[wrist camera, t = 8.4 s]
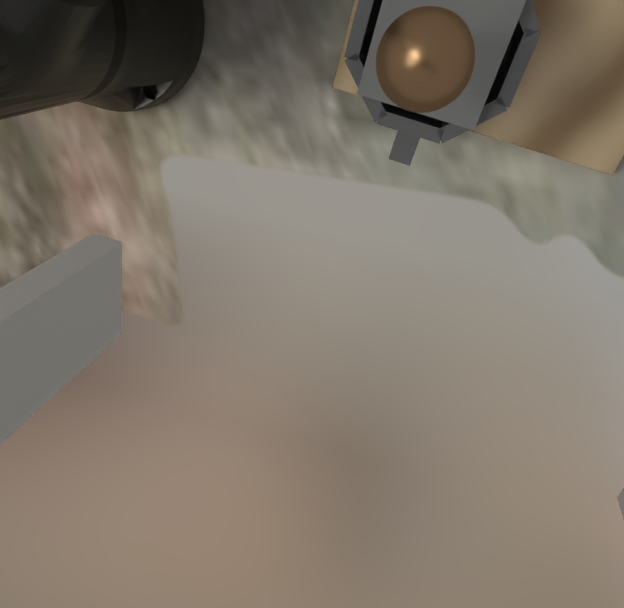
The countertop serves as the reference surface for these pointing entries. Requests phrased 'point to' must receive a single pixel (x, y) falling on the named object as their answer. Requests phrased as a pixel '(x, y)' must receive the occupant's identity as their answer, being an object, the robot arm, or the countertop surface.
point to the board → (561, 85)
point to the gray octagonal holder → (484, 80)
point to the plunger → (425, 59)
